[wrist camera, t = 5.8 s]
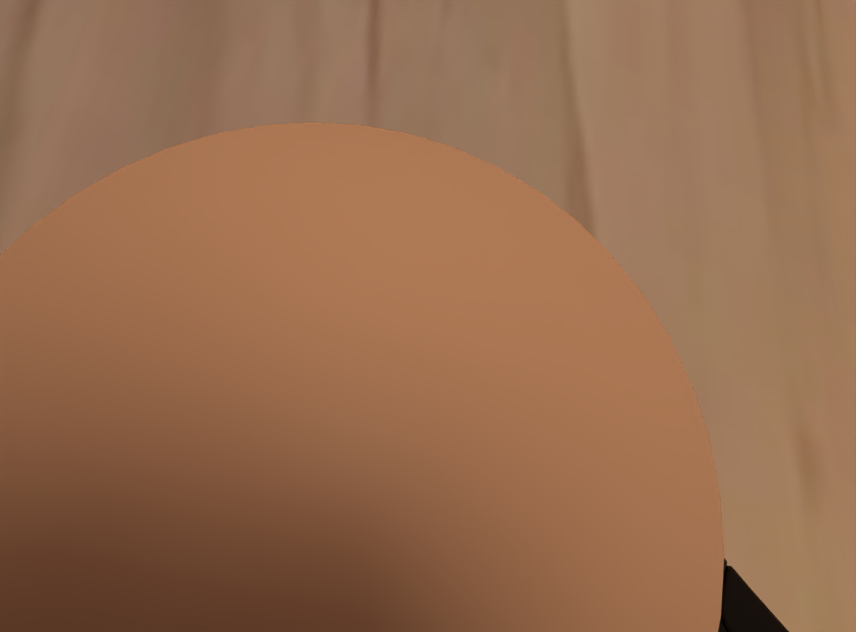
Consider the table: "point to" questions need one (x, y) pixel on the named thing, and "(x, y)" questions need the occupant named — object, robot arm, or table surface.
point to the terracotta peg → (341, 404)
